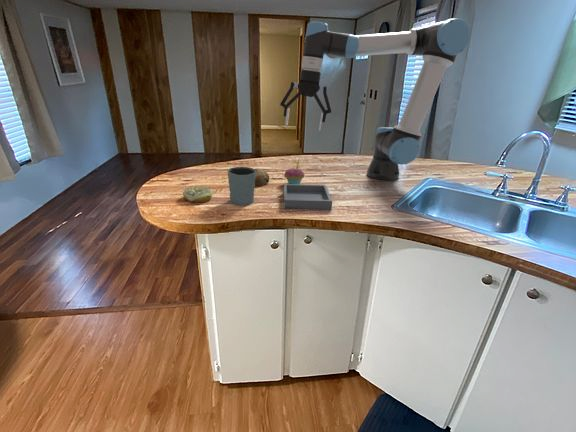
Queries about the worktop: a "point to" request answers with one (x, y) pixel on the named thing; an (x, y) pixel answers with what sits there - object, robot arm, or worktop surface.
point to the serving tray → (307, 197)
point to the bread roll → (261, 177)
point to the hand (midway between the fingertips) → (302, 127)
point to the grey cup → (241, 185)
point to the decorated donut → (197, 194)
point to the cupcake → (294, 175)
